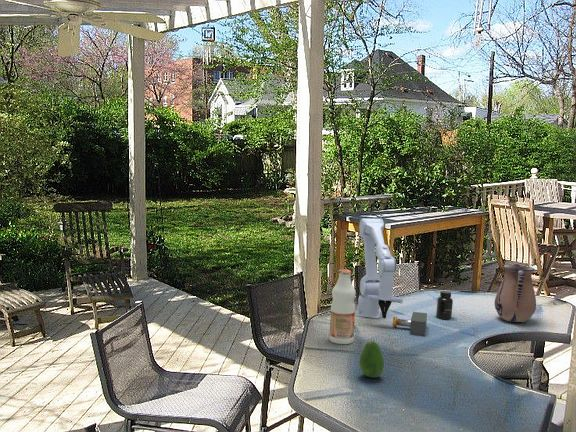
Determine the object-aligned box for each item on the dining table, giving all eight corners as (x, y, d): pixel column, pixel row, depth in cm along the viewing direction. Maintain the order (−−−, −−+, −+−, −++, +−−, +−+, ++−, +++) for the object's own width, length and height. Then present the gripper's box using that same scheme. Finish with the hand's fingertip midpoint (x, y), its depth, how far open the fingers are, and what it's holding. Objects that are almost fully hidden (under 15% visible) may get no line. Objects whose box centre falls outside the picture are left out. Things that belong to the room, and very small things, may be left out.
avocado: (367, 370, 203) (369, 336, 201) (387, 377, 198) (389, 342, 196) (354, 377, 197) (356, 341, 195) (374, 383, 192) (376, 347, 190)
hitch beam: (409, 334, 245) (410, 320, 244) (412, 324, 258) (413, 311, 257) (424, 336, 243) (425, 322, 242) (426, 326, 256) (427, 313, 256)
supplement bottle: (448, 320, 266) (449, 294, 265) (433, 317, 270) (435, 291, 269) (453, 317, 272) (455, 292, 270) (439, 314, 276) (441, 289, 274)
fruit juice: (324, 339, 234) (327, 269, 231) (343, 335, 239) (346, 267, 236) (339, 346, 227) (343, 273, 223) (358, 342, 232) (362, 271, 228)
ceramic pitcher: (527, 316, 279) (532, 263, 276) (542, 329, 258) (547, 273, 255) (489, 313, 281) (493, 261, 278) (500, 327, 260) (505, 270, 257)
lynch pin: (392, 327, 251) (393, 318, 251) (393, 324, 255) (394, 315, 255) (422, 331, 248) (423, 321, 248) (423, 328, 252) (424, 319, 251)
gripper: (367, 286, 250) (365, 318, 252) (402, 290, 247) (400, 322, 248) (369, 283, 257) (368, 314, 259) (403, 286, 253) (402, 317, 255)
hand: (384, 317), depth 254 cm, fingers closed
